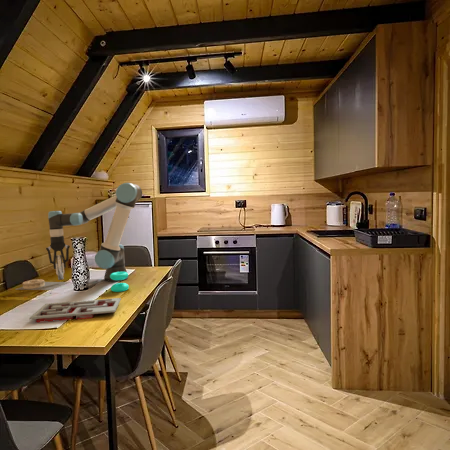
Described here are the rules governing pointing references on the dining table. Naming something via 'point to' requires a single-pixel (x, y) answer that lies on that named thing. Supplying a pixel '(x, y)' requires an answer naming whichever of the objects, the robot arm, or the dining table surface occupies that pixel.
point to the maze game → (75, 309)
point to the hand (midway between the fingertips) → (60, 273)
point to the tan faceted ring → (33, 284)
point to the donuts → (119, 286)
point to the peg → (59, 267)
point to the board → (47, 286)
